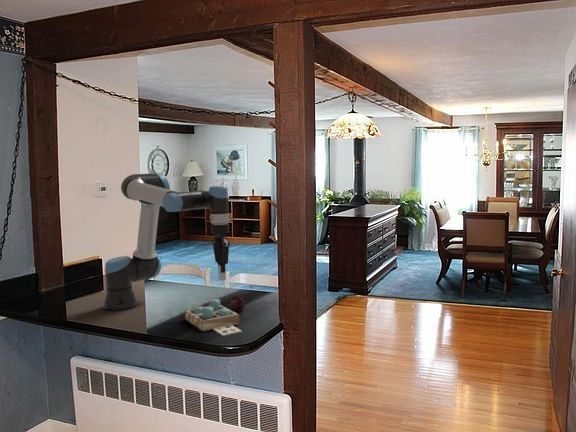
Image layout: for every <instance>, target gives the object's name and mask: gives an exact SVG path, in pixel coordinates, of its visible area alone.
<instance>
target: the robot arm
mask: <svg viewBox="0 0 576 432" xmlns="http://www.w3.org/2000/svg"><path fill="white" fill-rule="evenodd" d="M120 190H121V193H122V195H123V196H124V197H125V198H126V199H128V200H131V201H138V202H139V203H140V211H139V222H138V233H137V242H136V249H135V250H134V251H133V252H132V258H131V257H130V256H128V255H123V256H117V257H112V258H110V259H108V260H106V262H105V266H104V273H105V283H106V284H105V286H106V294H105V297H104V301H103V308H104V307H105V308H108V309H124V310H128V309H127V308H129V309H132V308H134V306H135V307H136V306H137V305H138V301H137V298H136V296H135V293H134V290H133V283H136V282H139V281H145V280H151V279H154V278H156V277H157V276H159V274H160V272H161V269H162V262H161V261H162V260H161V258H160V256H158V253H157V252H156V240H157V231H158V221H159V215H160V214H159V213H160V207H163V208H164V209H165V211H166V212H169V213H177V212H182V211H194V210H202V209H206V210H208V209H209V213H210V216H209V219H210V223H211V225H210V233H211V234H212V235H214V236H213V237H214V238H212V239H211V242H212V246H213V254H214V261H215V263H216V264H217V271H218V272H217V273H218V281H219V282H220V281H227V272H226V271H227V270H226V269H227V268H226V265H227V264H228V263H229V251H230V249H229V248H230V245H231V242H230V241H228V240H227V234H229V233H230V223H229V222H230V213H229V195H228V194H229V193H228V191H229V190H228V187H227V186H225V185H221V186H220V185H212V186H209V189H208V190H203V189H200V190H193V191H184V192H182V191H181V192H178V191H175V190H172V189H171V185H170V183H169V179H168V178H167V176H166V175H164V174H162V173H155V172H151V173H139V174H138V173H133V174H129V175H128V176H126V177H125V178H124V179H123V180H122V182H121V185H120ZM131 307H132V308H131Z"/></svg>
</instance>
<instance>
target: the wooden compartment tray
mask: <svg viewBox="0 0 576 432" xmlns="http://www.w3.org/2000/svg"><path fill="white" fill-rule="evenodd" d="M206 307H209V305H208V306H207V305H206ZM220 309H228V307H226V306H224V305H222V304H220ZM184 311H185V312H184V313H185V320H186V321H187V322H189V323H190V324H192V325H193V326H194V327H196V328H198V330H200V331H202V332H207V331H212V330H213V328H215V327H220V326H225V325H230V324H231V325H233V326H235V325H240V314H239V313H237V312H236V311H233V310H232V309H230V315H226V316H221V317H220V316H218V310H216V311H214V318H211V319H206V320H203V319H202V313H200V314H194V312H193V308H192V309H191V308H190V309H185V310H184Z"/></svg>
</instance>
